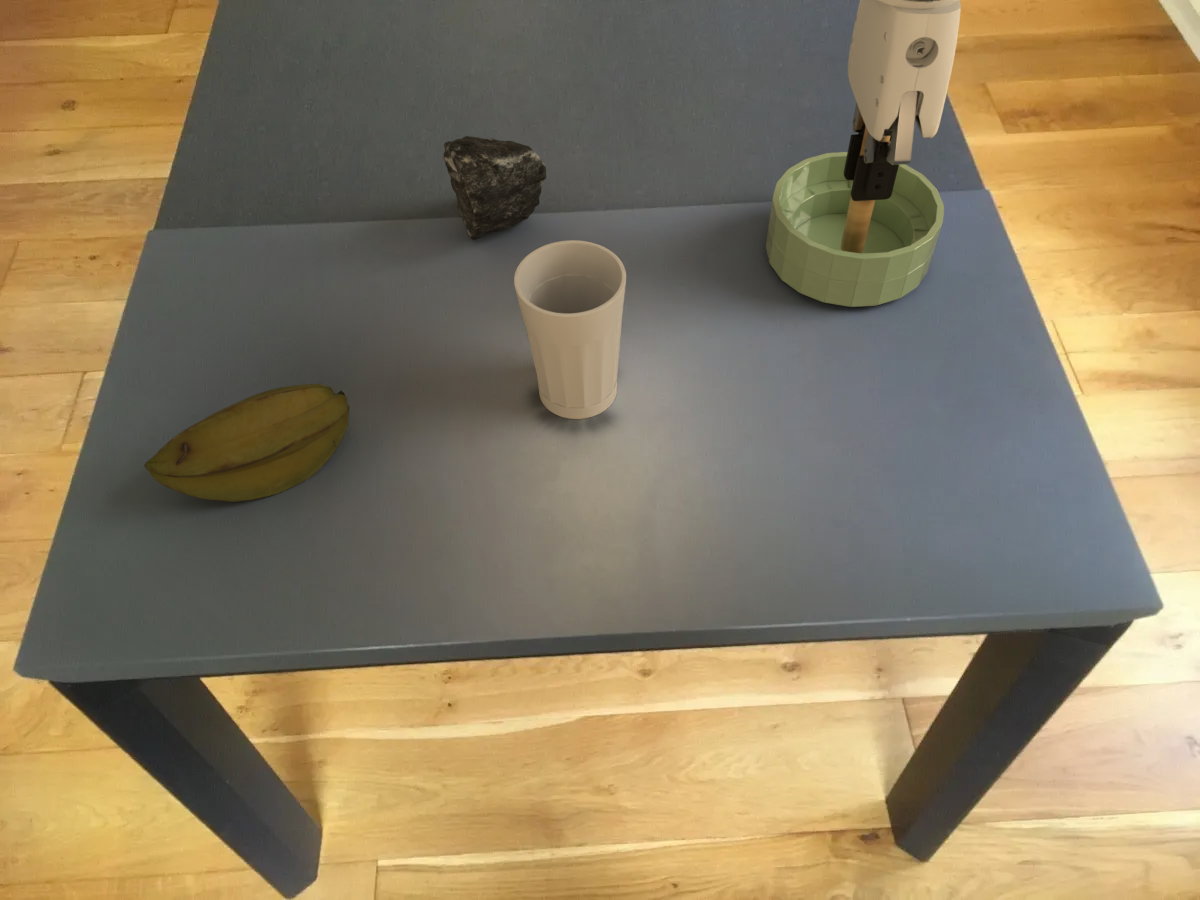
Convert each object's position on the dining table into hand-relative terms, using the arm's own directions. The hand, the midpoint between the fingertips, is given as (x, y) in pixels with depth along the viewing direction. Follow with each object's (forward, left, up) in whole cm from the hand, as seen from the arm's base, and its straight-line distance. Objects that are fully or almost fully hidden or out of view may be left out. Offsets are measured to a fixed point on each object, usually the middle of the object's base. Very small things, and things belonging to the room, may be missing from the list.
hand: (866, 186), depth 79 cm
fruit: (+40, +32, -9) cm, 53 cm away
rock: (+32, +1, -9) cm, 34 cm away
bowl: (0, -2, -9) cm, 9 cm away
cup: (+19, +19, -9) cm, 29 cm away
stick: (0, 0, -7) cm, 7 cm away
